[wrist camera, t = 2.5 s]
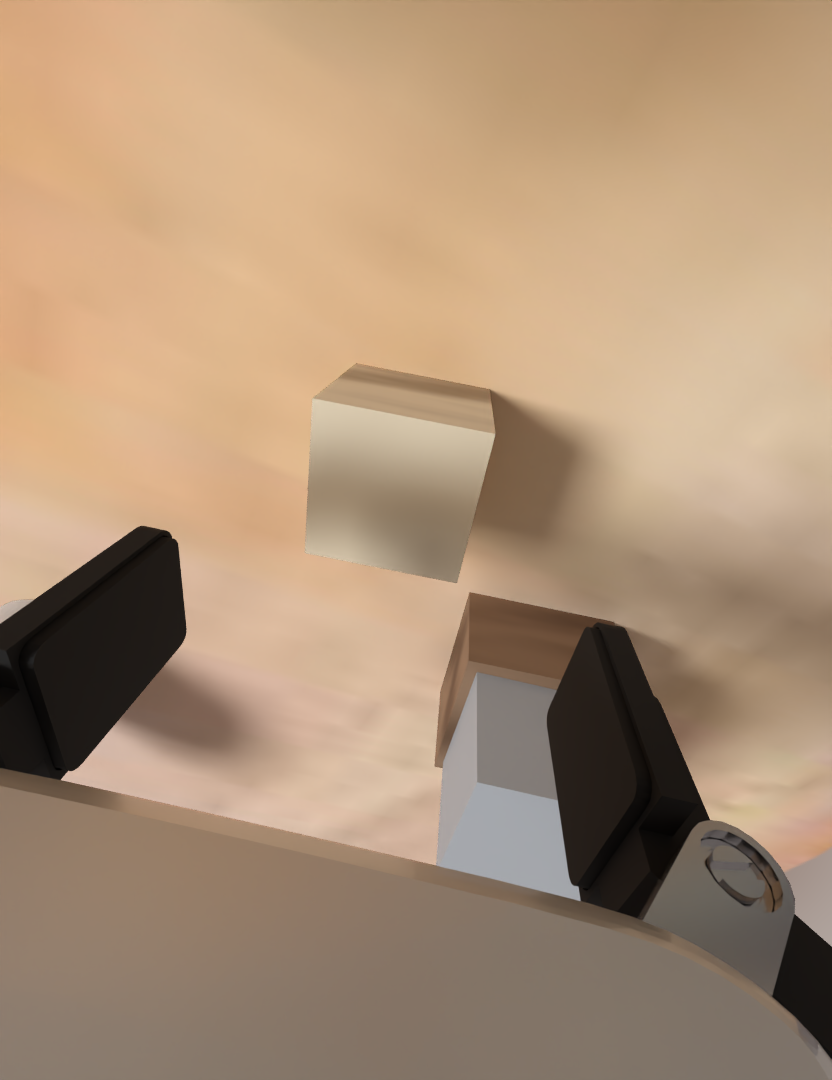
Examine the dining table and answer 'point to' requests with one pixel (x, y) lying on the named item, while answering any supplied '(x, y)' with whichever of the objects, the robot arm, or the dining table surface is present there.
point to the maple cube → (397, 470)
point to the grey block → (503, 790)
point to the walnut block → (505, 652)
